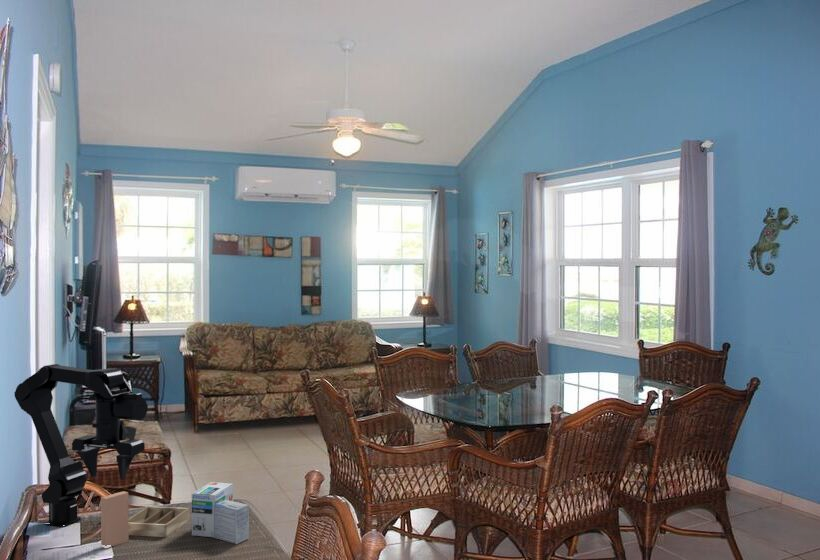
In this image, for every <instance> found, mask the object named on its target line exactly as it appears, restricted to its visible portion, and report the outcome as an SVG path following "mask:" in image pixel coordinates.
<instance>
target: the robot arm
mask: <svg viewBox="0 0 820 560" xmlns="http://www.w3.org/2000/svg"><path fill="white" fill-rule="evenodd" d="M58 382H60V383H65V384H71V385H76V386H77V385H78V386H83V387H85V388H86V389H87V390H89V391H91V392H93V393H92V395H90V396H89V397H88V400H89V401H93V402H94V401H95V422H93V423H92V424H91V425H92V426H91V427H92V428H94V429H95V435H89V434H88V435H83V436H80V437H76V438H74V439H73V441H72V442H71V451H75V453H76V454H77V455H78V456H79V458H80V459H81V460H82V461H81V460H77V461H75V460H73V459H72V458H71V457H70V454H69V452H68V449H67V447H66V445H65V442H64V439H63V437H62V434H61V431H60V429H59V426H58V424H57V422H56V419H55V416H54V414H53V411H52V405H53V400H54V399H53V394H52V392H53V390H55V388H56V387H57V386H58ZM14 398H15V400H16V402H17V403H18V406H19V407H20V410H22V411H23V412H25V413H26V414H27V415H29V416H30V417H31V419H32V422H33V423H32V424H33V425H34V427H35V430H36V433H37V435H38V438H39V441H40V443H41V445H42V448H43V451H44V453H45V455H46V458H47V462H48V464H49V471H48V476H47V480H48V484H49V485H48V487H46V489H45V490H44V491H43V492H42V493H41V498H42V503H43V504H44V503H45V504H48V520H45V521H44V523H50V524H53V525H52V526H54V525H59V526H58V527H60V526H63V525H66V526H68V525H70V524H73V523H75V522H77V521H80V520H81V519H82V517H81V516H78V504H77V497H78V496H81V495H83V491H84V488H85V486H86V483H87V477H86V475H87V472H86V471H85V470H84V469H85V468H86V469H87V470H88V472H89V474H90V475H91V478H95V477H97V474H98V473H97V472H98V454H99V452H100V449H108V450H116V452H117V454H118V455H116V463H117V469H118V473H119V474H118V475H119V477H120V480H121V481H124V480H126V477H127V474H128V471H129V469H130V466H131V464H132V461H133V460H134V458H135V457H136V456H137V455H139V454H141V452H144V451H145V447H146V446H145V445H146V444H145V442H144V440H143V439H135V438H136V434H137V430H138V429H137V427H131V426H127V425H125V422H124V420H130V421H131V420H132V421H142V420H144V418H145V417H146V416H147V413H148V411H149V410H148V409H149V405H148V404H147V401H146V399H145V398H144V397H143V393H142V392H136V393H133V390H132V389H131V386H130V385H129V384H128V382H127V380H126V379H125V377H124V375H123V372H122V370H121V369H119V368H117V367H113V368H112V367H111V368H101V369H89V368H88V369H87V368H80V367H74V366H66V365H61V364H58V363H54V364H48V365H46V364H45V365H43V366H42V367H40V368H39V369H38V371H37V372H35V373H34V374H32V375H31V376H29V377H28V378H26V379H24V380H23V381H22V382H21V383H19V384H18V385H17V386H16V388H15V391H14ZM83 463H84V465H85V468H84V465H83ZM44 523H43V524H44ZM67 524H68V525H67ZM63 527H64V526H63Z"/></svg>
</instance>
